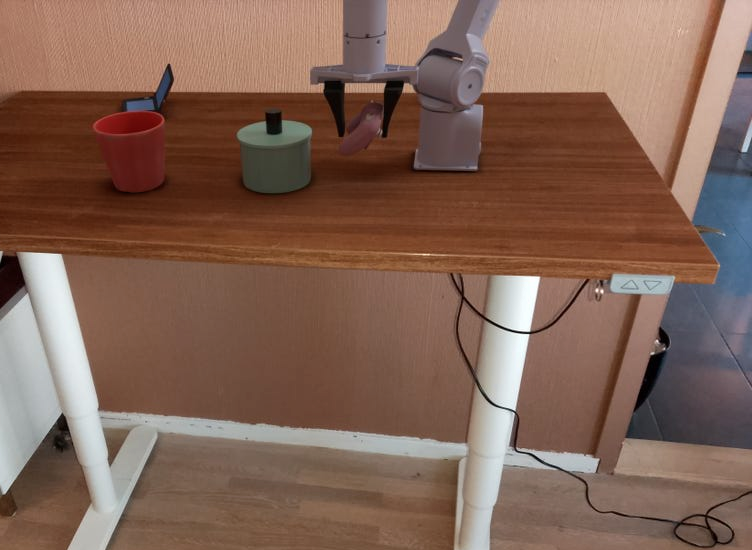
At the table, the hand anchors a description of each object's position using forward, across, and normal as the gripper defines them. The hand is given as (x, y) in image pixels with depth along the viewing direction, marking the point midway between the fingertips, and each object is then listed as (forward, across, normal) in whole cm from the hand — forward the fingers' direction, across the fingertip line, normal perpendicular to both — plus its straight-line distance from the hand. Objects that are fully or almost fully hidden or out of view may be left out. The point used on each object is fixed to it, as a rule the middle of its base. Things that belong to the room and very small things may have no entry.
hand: (362, 135), depth 103 cm
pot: (+8, -13, +2) cm, 15 cm away
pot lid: (+1, -13, +2) cm, 13 cm away
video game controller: (+2, 0, 0) cm, 2 cm away
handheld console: (+8, -46, +34) cm, 58 cm away
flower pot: (+8, -35, -2) cm, 36 cm away
